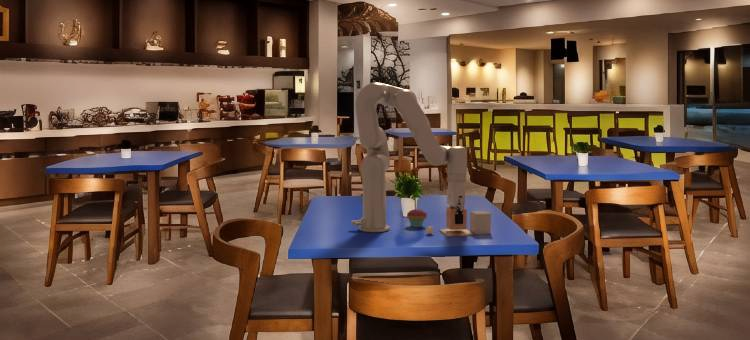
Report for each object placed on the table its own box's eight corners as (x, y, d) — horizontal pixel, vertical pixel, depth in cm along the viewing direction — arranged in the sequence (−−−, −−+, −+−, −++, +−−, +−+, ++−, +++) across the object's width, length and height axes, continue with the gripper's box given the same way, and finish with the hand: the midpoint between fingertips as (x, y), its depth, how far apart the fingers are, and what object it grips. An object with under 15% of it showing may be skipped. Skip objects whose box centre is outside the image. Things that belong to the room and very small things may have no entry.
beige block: (475, 234, 244) (475, 214, 243) (470, 230, 250) (470, 211, 249) (490, 233, 245) (490, 213, 244) (484, 230, 251) (485, 210, 250)
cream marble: (426, 235, 242) (426, 227, 242) (424, 233, 245) (424, 225, 245) (434, 234, 242) (434, 226, 242) (432, 233, 246) (432, 225, 245)
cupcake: (403, 224, 262) (403, 197, 261) (421, 223, 266) (421, 195, 264) (412, 228, 255) (412, 200, 253) (430, 226, 258) (430, 198, 257)
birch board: (447, 236, 239) (447, 234, 239) (439, 230, 250) (439, 229, 250) (474, 235, 241) (474, 233, 241) (465, 229, 252) (465, 228, 252)
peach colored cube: (450, 229, 242) (451, 209, 241) (446, 226, 248) (446, 207, 247) (466, 229, 243) (466, 209, 242) (461, 226, 249) (461, 206, 248)
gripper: (441, 175, 251) (441, 218, 253) (454, 180, 234) (453, 226, 236) (459, 174, 252) (458, 217, 254) (473, 180, 235) (472, 226, 237)
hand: (456, 221), depth 245 cm, fingers closed on peach colored cube, 6 cm apart
